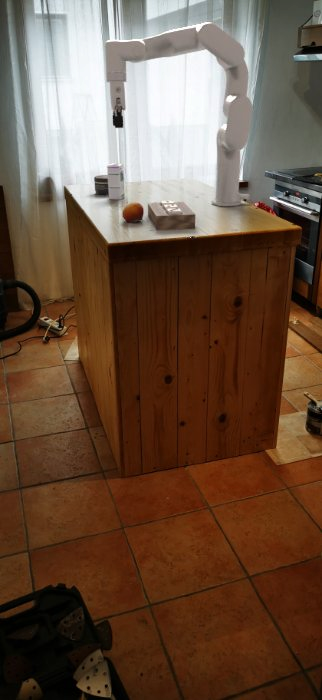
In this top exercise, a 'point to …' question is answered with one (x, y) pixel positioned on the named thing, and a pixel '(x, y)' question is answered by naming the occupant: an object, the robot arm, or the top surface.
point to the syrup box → (115, 181)
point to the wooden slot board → (171, 217)
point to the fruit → (133, 212)
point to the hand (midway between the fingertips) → (118, 126)
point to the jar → (101, 184)
